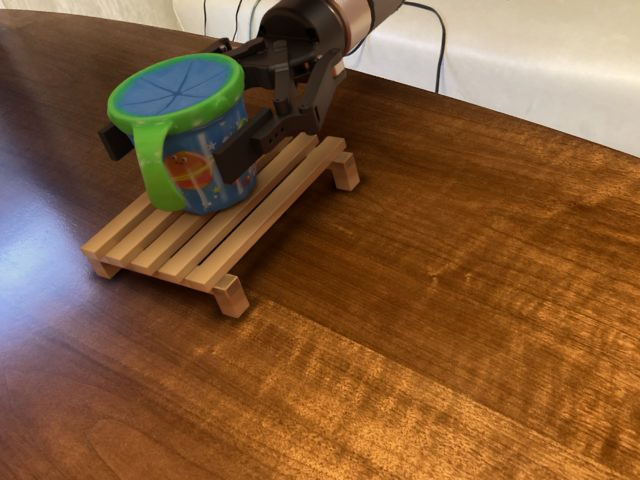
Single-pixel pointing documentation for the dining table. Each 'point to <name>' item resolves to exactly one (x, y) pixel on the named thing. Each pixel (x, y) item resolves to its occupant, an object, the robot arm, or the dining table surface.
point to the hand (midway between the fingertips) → (161, 157)
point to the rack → (217, 224)
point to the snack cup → (184, 129)
